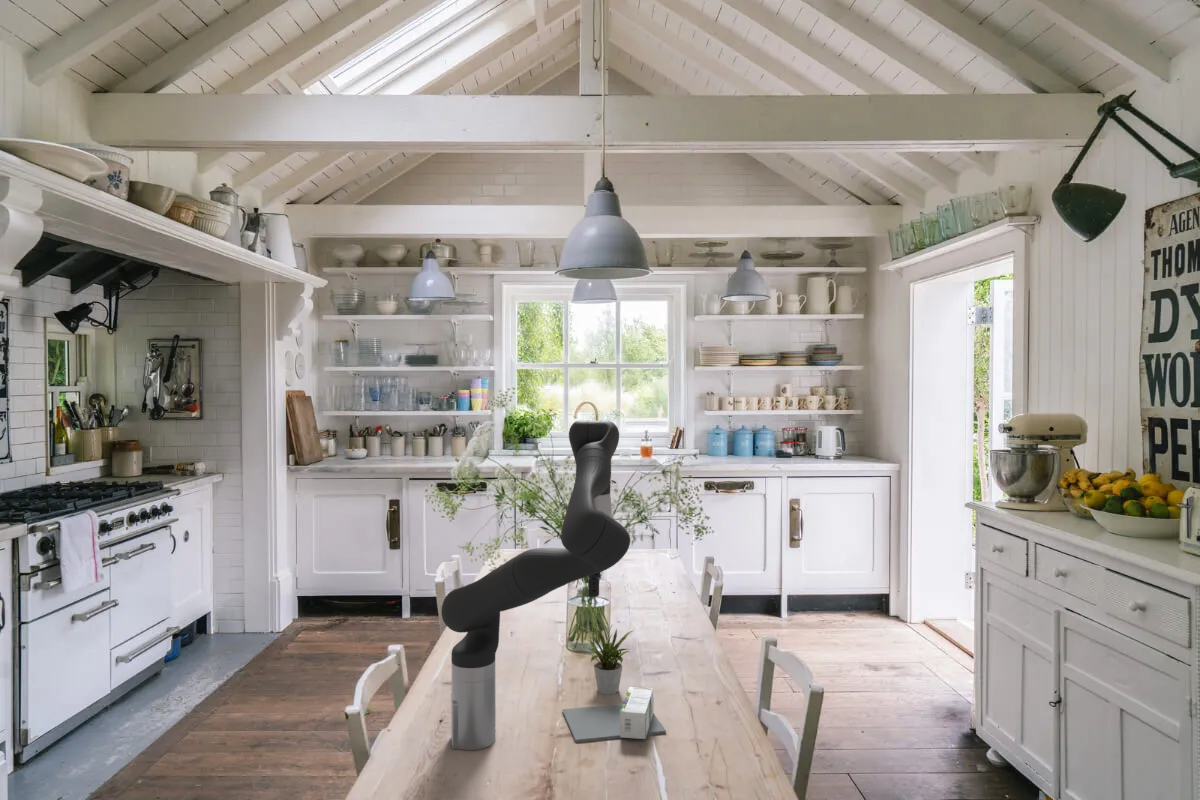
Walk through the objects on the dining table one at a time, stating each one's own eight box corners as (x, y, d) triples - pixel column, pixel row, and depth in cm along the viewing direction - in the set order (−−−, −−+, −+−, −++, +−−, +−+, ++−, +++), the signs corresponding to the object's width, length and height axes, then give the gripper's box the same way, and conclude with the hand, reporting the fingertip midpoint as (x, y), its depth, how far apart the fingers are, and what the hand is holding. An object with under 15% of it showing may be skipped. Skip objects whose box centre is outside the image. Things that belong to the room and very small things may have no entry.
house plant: (564, 696, 194) (564, 629, 194) (586, 676, 207) (586, 614, 207) (620, 705, 189) (620, 636, 189) (638, 684, 202) (639, 620, 202)
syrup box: (619, 738, 171) (628, 710, 185) (646, 740, 170) (653, 711, 184) (619, 711, 170) (628, 685, 185) (646, 713, 169) (653, 687, 184)
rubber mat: (575, 742, 170) (575, 739, 170) (562, 711, 185) (562, 709, 185) (665, 733, 174) (665, 730, 174) (645, 704, 190) (645, 701, 190)
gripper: (613, 519, 163) (613, 604, 164) (609, 509, 177) (609, 587, 177) (576, 520, 163) (576, 604, 163) (575, 509, 176) (575, 587, 177)
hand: (593, 595), depth 170 cm, fingers closed
